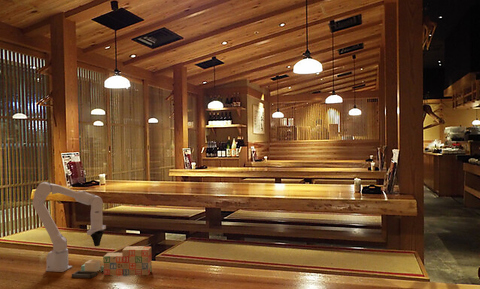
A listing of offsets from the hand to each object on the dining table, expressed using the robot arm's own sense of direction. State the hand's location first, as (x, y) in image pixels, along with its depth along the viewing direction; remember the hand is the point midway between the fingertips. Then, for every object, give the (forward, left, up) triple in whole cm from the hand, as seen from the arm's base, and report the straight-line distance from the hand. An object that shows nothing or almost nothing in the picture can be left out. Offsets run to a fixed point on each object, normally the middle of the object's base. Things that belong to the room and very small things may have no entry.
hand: (97, 245), depth 196 cm
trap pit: (+4, -18, -9) cm, 20 cm away
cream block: (+4, -11, -10) cm, 15 cm away
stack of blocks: (+23, -11, -10) cm, 27 cm away
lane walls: (+4, -6, -9) cm, 12 cm away
